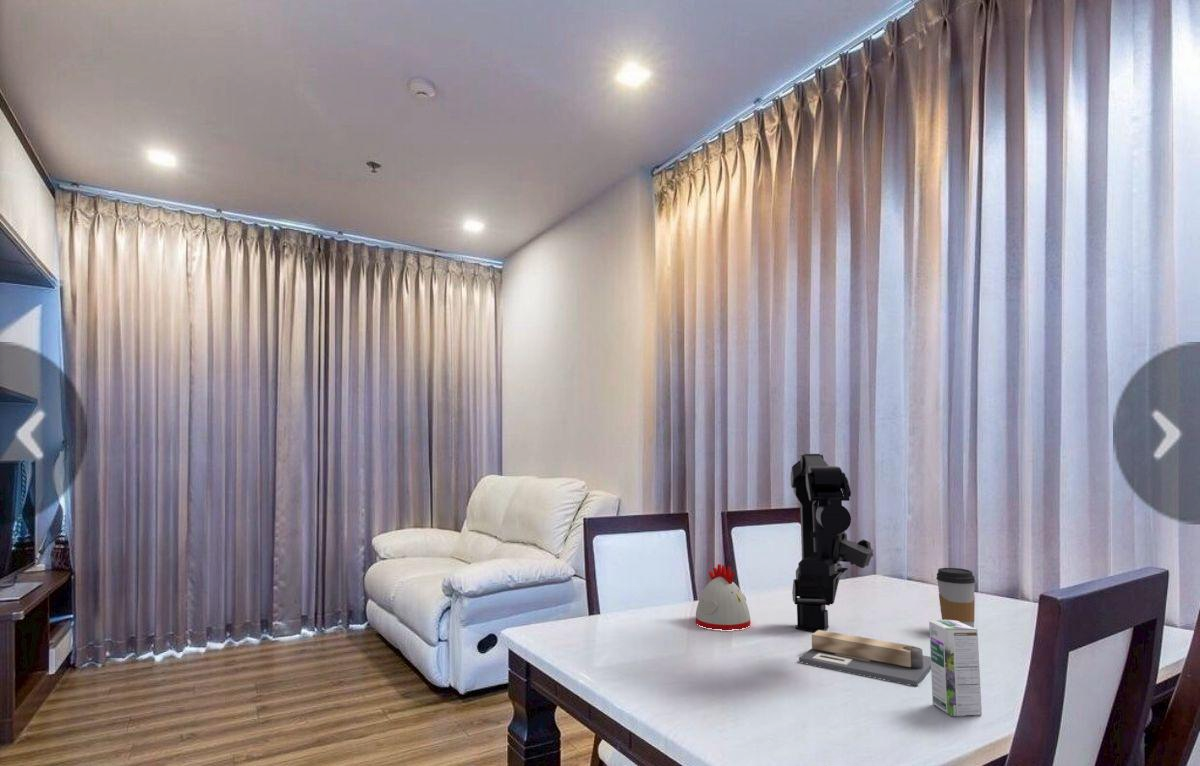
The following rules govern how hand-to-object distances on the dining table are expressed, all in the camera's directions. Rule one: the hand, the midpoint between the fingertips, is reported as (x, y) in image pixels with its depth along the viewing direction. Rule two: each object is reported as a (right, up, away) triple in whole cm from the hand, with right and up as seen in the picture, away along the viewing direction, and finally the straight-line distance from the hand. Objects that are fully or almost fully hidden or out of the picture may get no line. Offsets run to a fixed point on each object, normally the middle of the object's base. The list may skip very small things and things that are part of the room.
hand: (830, 603), depth 135 cm
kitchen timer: (-16, -17, +33) cm, 40 cm away
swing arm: (+9, -12, +3) cm, 15 cm away
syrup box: (+14, -11, -22) cm, 29 cm away
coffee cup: (+39, -15, +22) cm, 47 cm away
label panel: (+9, -13, +2) cm, 16 cm away
